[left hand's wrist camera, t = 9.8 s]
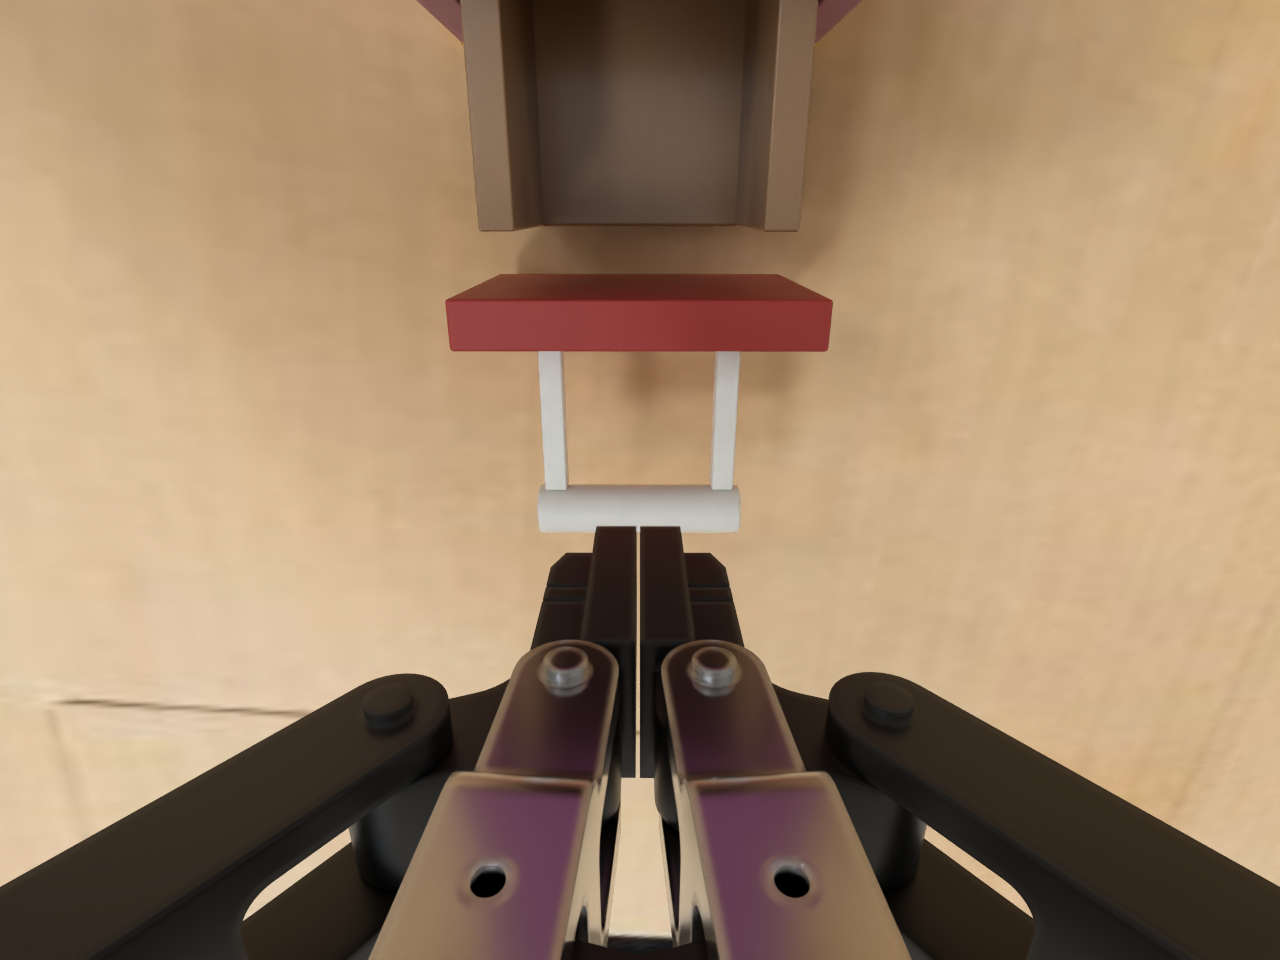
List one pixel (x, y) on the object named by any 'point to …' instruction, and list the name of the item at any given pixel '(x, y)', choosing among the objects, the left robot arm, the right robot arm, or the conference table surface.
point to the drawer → (639, 204)
